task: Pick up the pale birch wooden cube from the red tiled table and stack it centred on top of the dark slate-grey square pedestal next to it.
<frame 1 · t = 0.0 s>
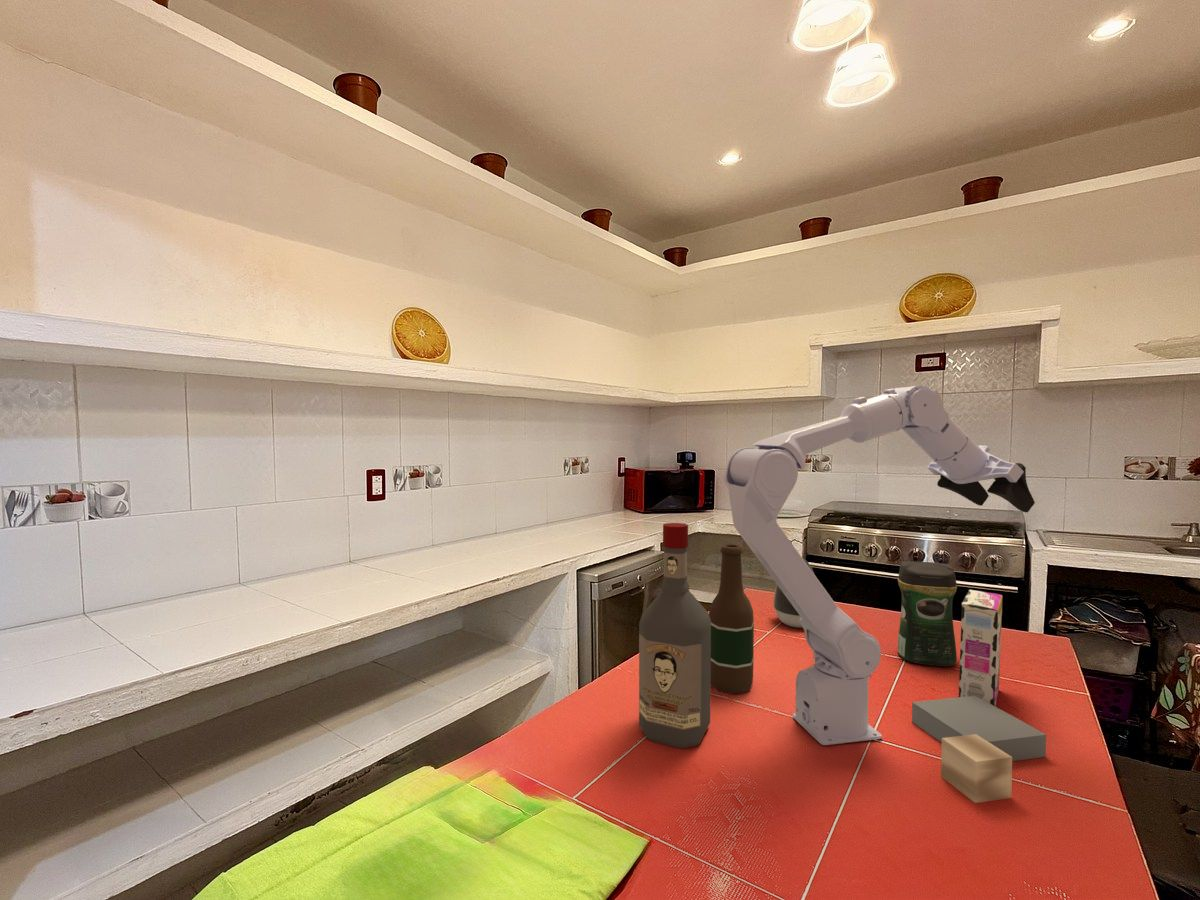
hand: (1005, 503, 84), 32 cm above the worktop, tool tilted 50°, fingers open, 7 cm apart
slate pedestal: (974, 738, 77), on the worktop
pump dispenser: (796, 624, 123), on the worktop
liquor: (674, 731, 79), on the worktop
beer bottle: (730, 685, 94), on the worktop
candy bar box: (980, 699, 89), on the worktop
birch cube: (975, 787, 67), on the worktop
coffee jar: (925, 659, 104), on the worktop
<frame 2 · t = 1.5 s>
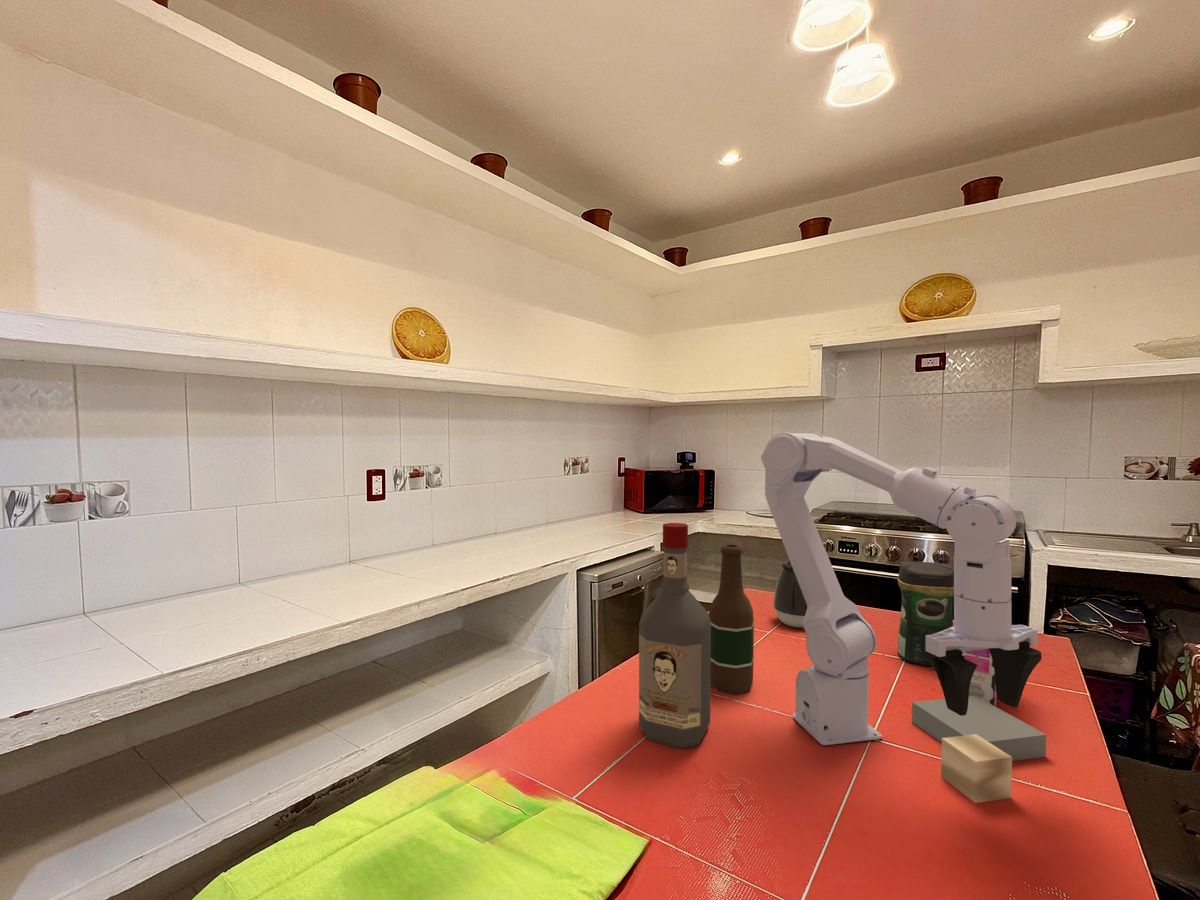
hand: (982, 707, 66), 10 cm above the worktop, tool pointing down, fingers open, 7 cm apart
nothing on the worktop moved.
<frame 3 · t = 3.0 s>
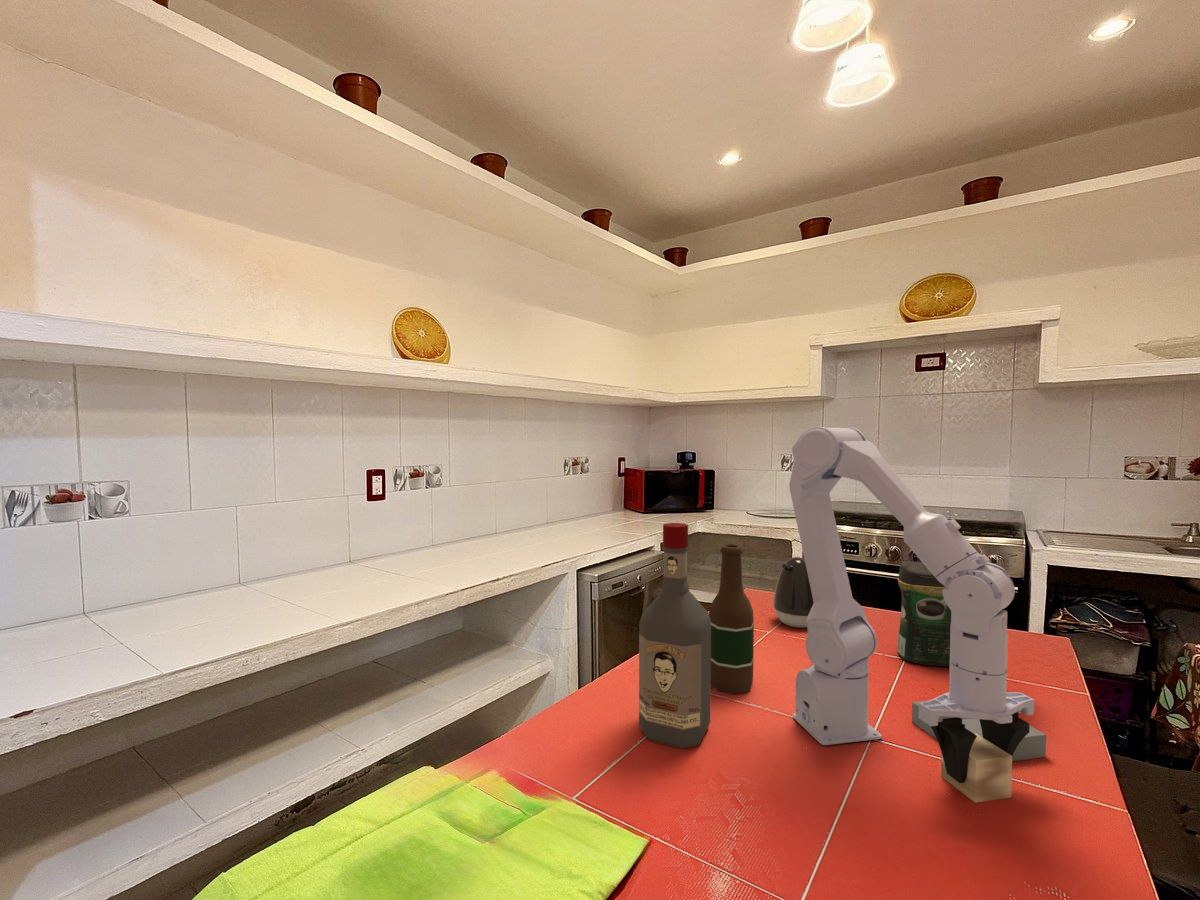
hand: (975, 775, 67), 1 cm above the worktop, tool pointing down, fingers closed on birch cube, 5 cm apart
birch cube: (975, 786, 67), on the worktop, touching gripper
everything else where it was.
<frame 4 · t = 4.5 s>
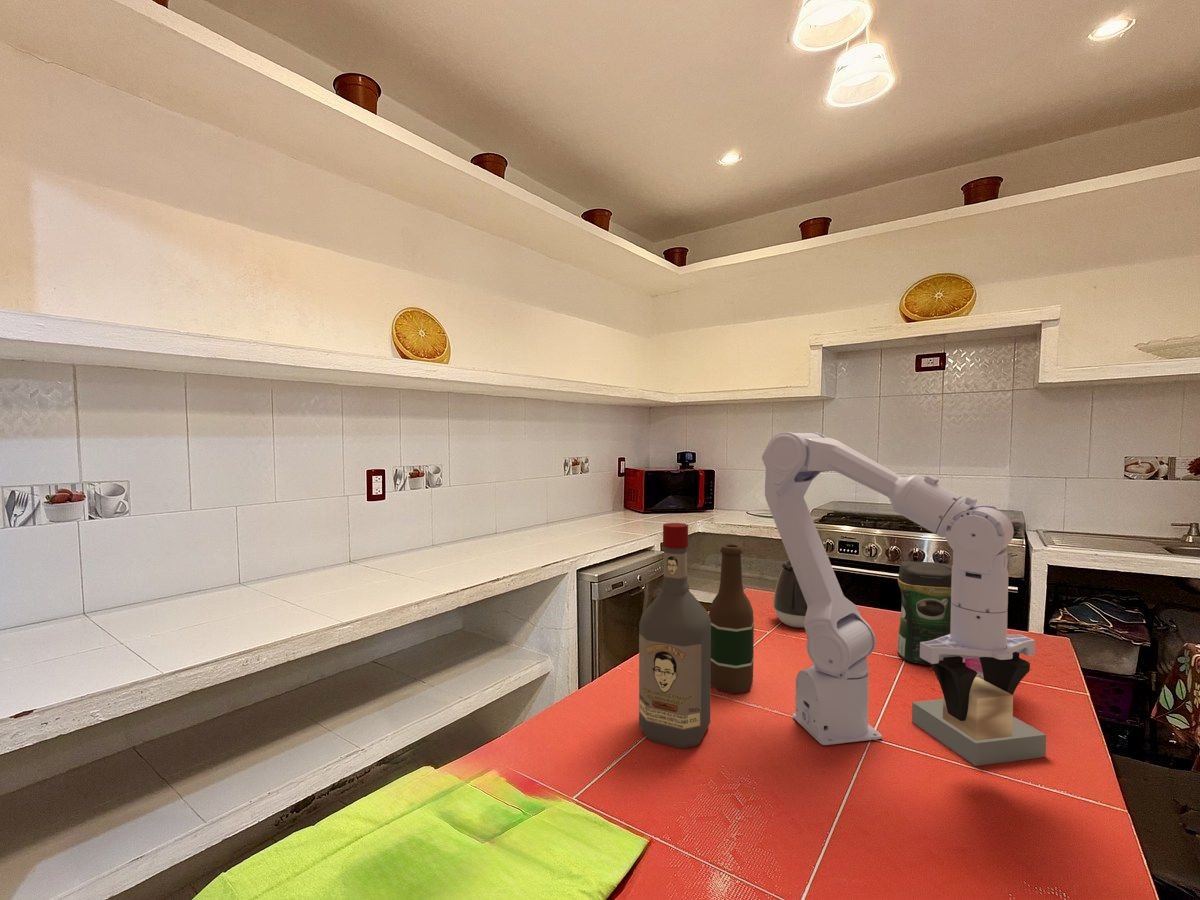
hand: (976, 714, 67), 8 cm above the worktop, tool pointing down, fingers closed on birch cube, 5 cm apart
birch cube: (976, 727, 67), point 7 cm above the worktop, touching gripper
everything else where it was.
when the fingers open (6 cm above the worktop, at t = 6.1 s): birch cube drops 1 cm, resting on slate pedestal.
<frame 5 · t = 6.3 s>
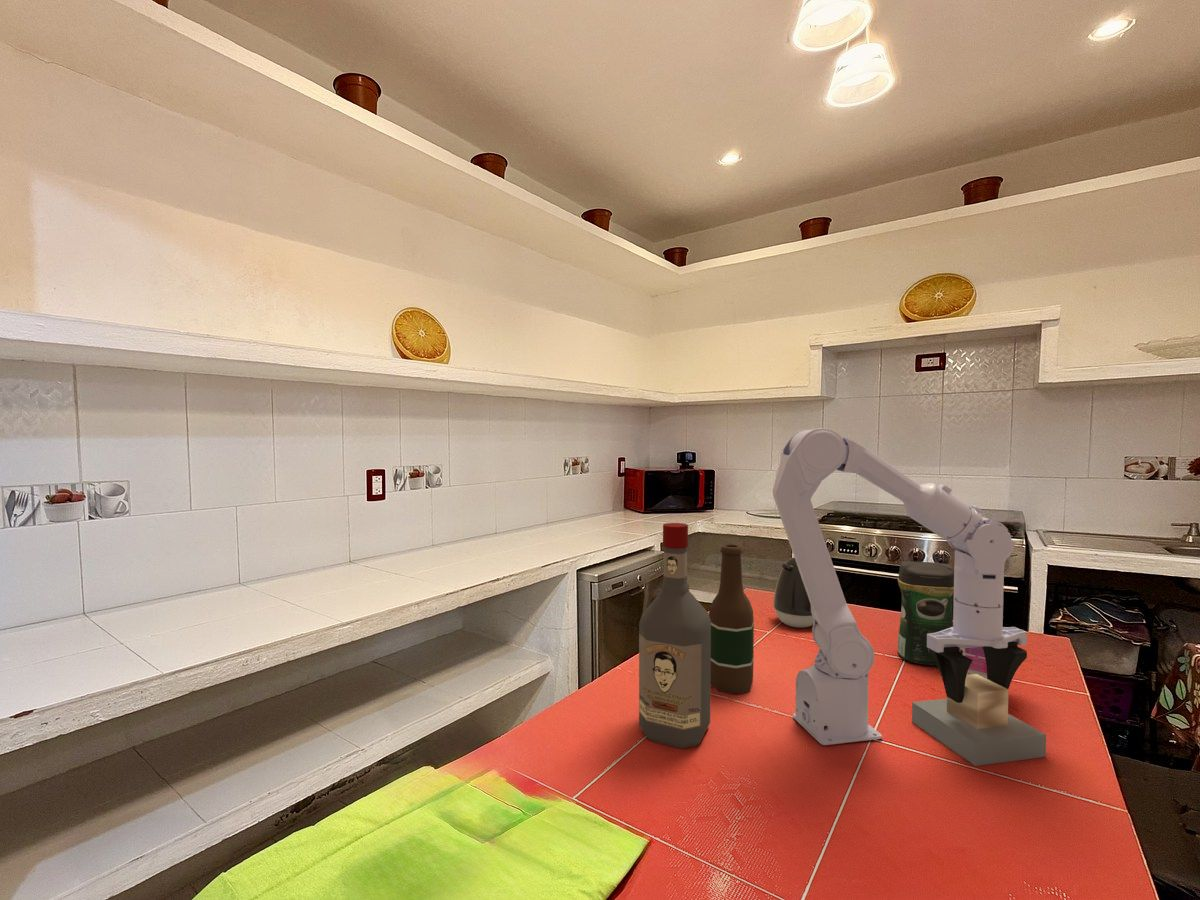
hand: (975, 697, 77), 6 cm above the worktop, tool pointing down, fingers open, 6 cm apart
birch cube: (976, 718, 77), point 3 cm above the worktop, touching slate pedestal
everything else where it was.
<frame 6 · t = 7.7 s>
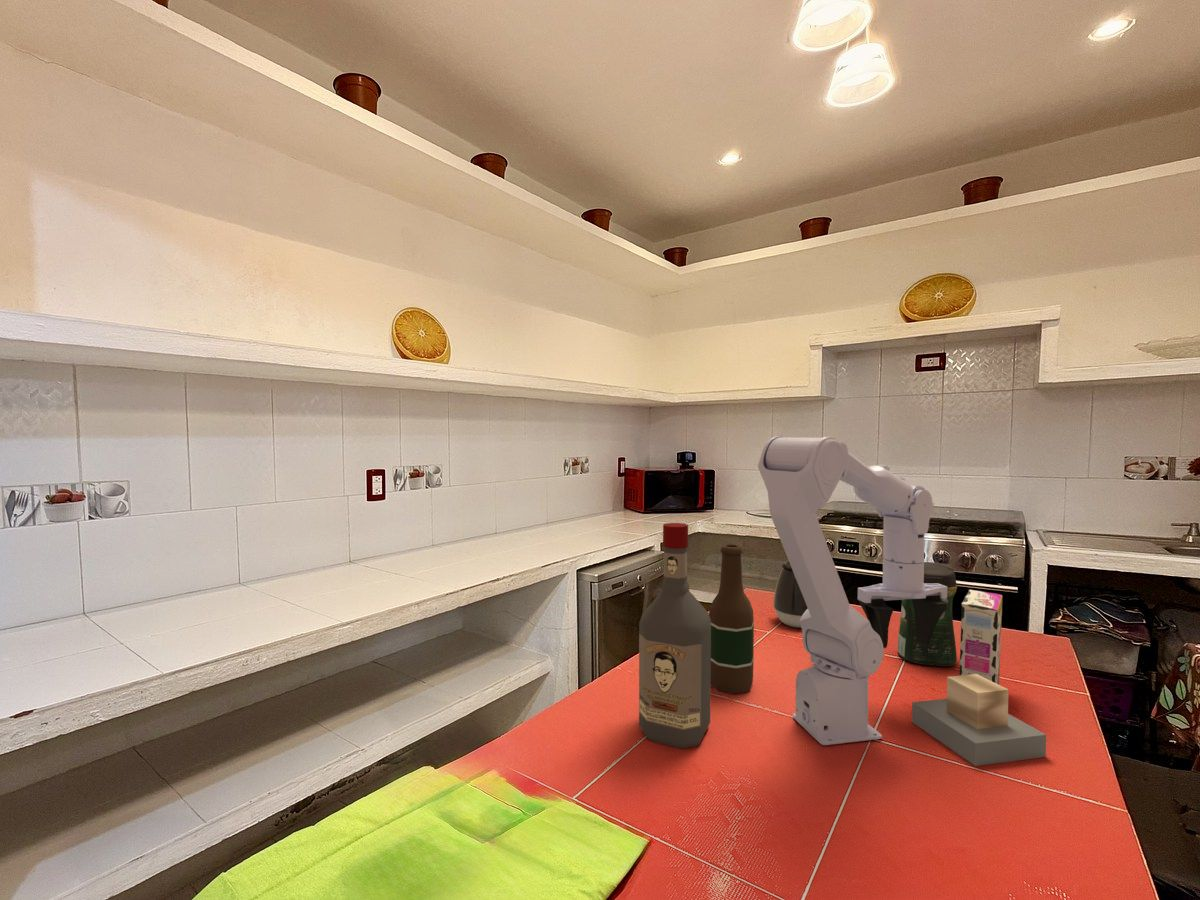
hand: (901, 644, 87), 9 cm above the worktop, tool pointing down, fingers open, 7 cm apart
nothing on the worktop moved.
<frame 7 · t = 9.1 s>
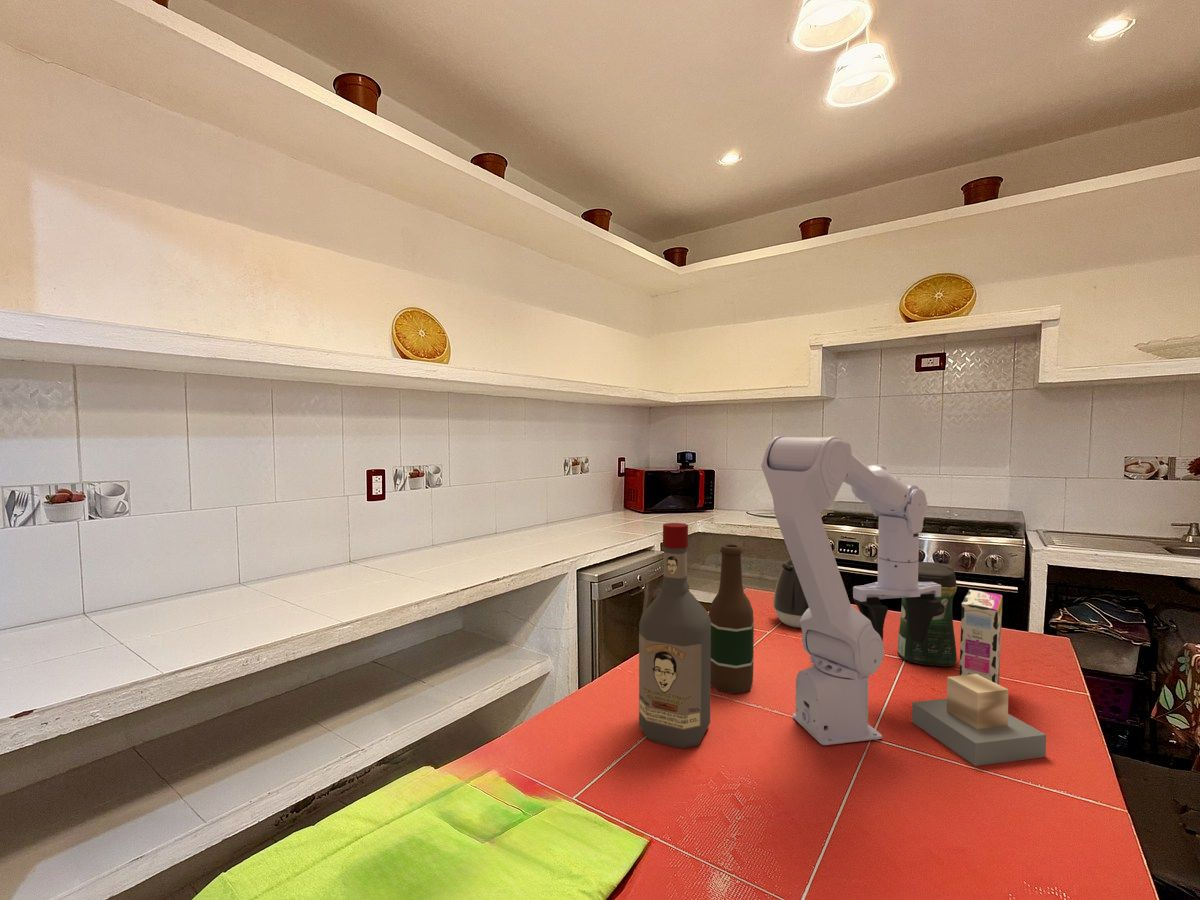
hand: (896, 642, 88), 9 cm above the worktop, tool pointing down, fingers open, 7 cm apart
nothing on the worktop moved.
at the end: birch cube 0.2 cm off-centre on the slate pedestal, point 3.0 cm above the slate pedestal's base; birch cube tilted 0°; the gripper is holding nothing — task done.
